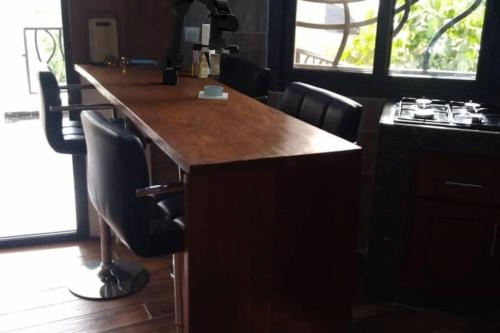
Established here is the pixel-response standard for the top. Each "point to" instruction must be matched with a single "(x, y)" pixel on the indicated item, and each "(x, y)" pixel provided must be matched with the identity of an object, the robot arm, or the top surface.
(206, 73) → the candy box
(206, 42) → the cylindrical container
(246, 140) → the top surface
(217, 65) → the rail post
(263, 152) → the top surface
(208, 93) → the cup bracket
